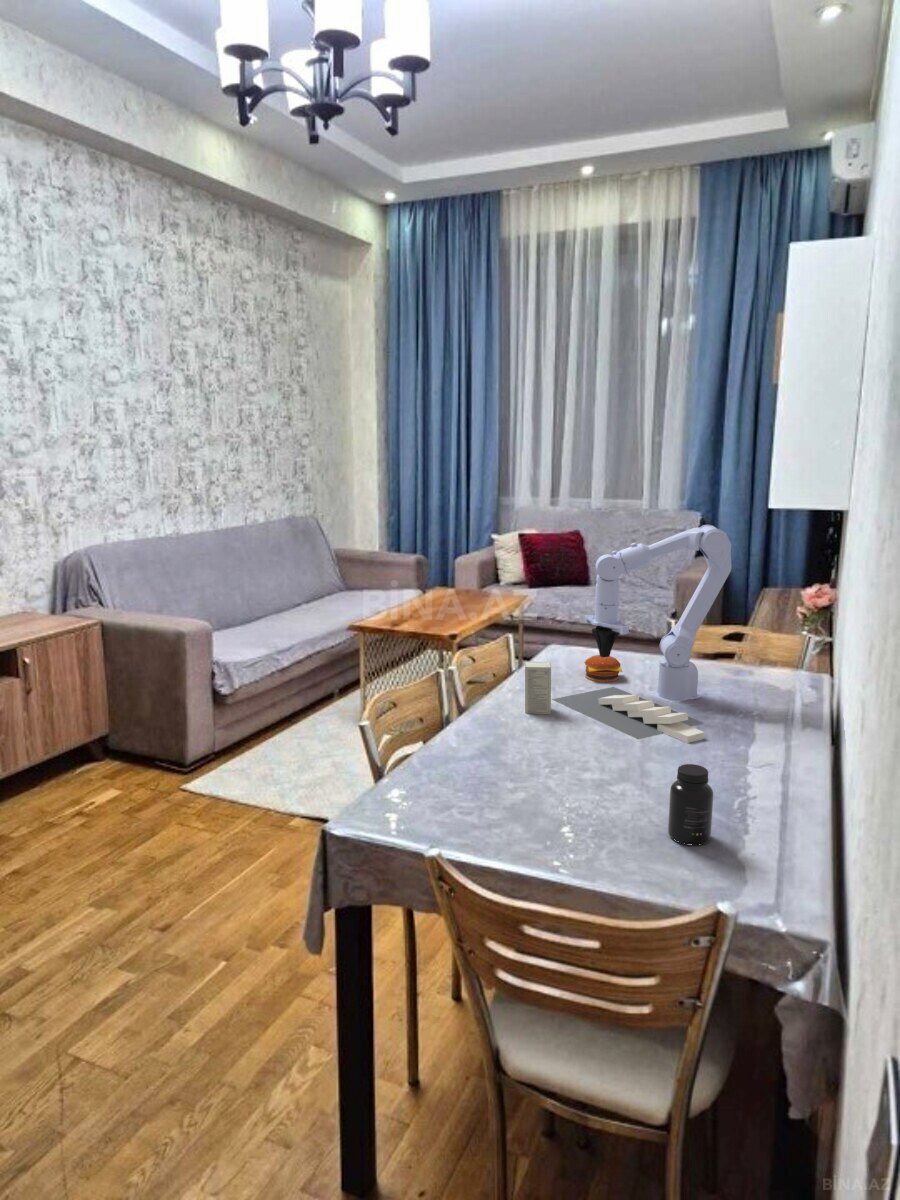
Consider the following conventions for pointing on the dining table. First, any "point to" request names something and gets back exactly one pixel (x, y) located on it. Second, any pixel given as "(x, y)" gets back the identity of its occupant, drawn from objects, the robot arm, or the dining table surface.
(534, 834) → the dining table surface
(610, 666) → the hamburger
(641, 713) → the domino
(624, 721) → the mat
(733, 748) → the dining table surface
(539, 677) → the skincare box
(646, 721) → the domino
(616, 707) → the domino
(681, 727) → the domino
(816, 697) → the dining table surface
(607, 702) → the domino
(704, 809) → the supplement bottle
